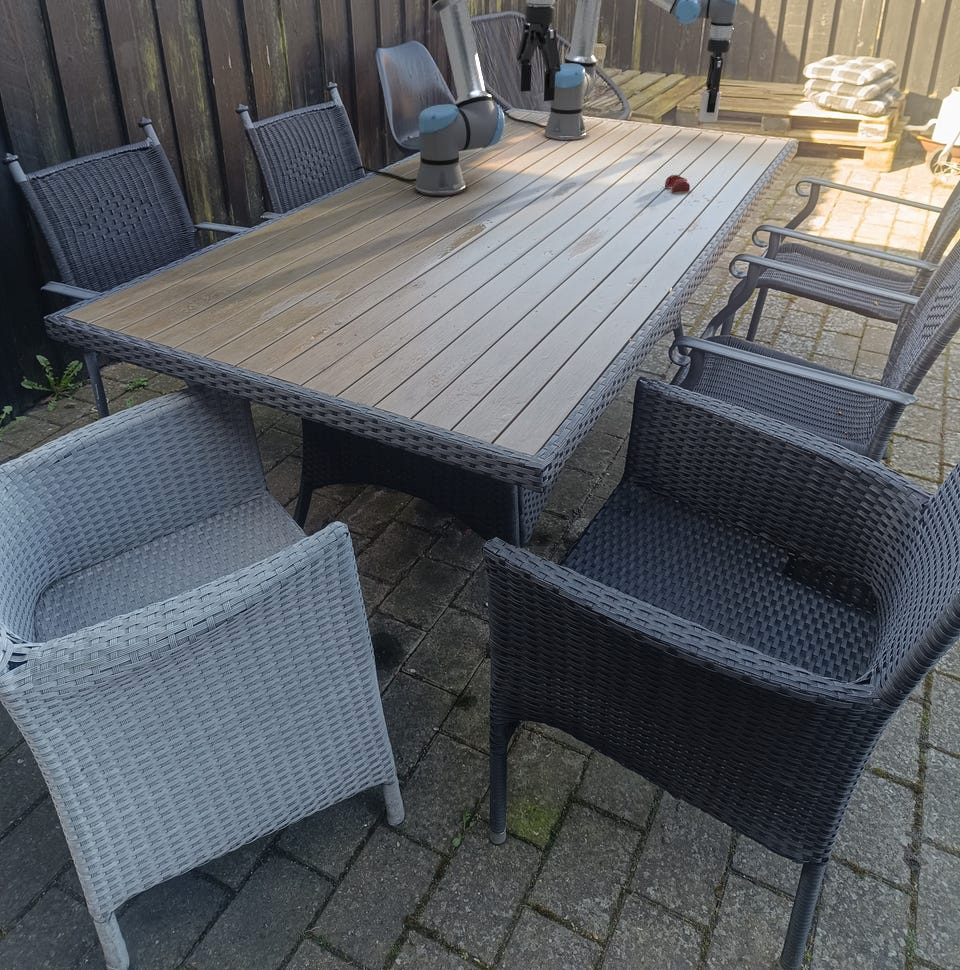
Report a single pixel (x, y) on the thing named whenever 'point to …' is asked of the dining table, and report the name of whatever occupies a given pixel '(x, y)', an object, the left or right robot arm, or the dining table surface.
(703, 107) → the canister
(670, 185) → the dental model
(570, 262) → the dining table surface
